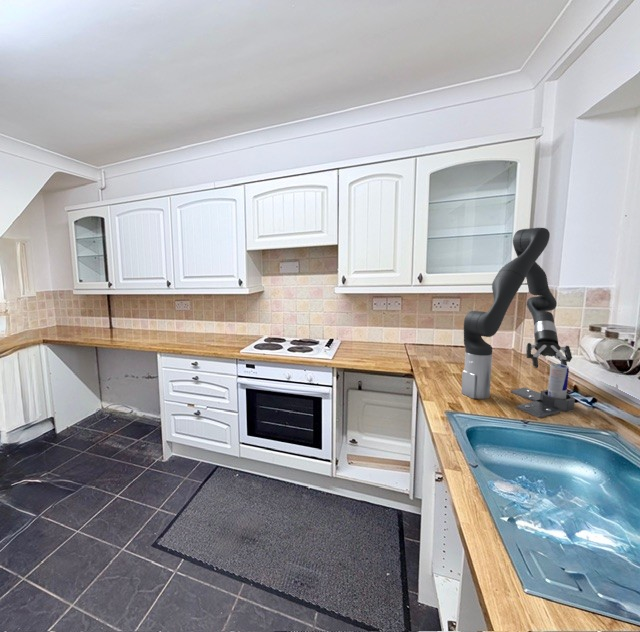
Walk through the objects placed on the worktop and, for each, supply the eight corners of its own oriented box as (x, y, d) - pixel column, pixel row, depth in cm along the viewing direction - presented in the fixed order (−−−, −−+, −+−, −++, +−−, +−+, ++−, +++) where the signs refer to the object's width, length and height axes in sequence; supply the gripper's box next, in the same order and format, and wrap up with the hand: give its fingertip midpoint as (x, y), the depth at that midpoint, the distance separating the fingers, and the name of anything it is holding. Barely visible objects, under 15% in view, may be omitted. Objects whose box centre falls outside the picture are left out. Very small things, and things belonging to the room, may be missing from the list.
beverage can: (568, 407, 104) (572, 366, 102) (558, 409, 102) (562, 368, 100) (553, 401, 109) (557, 362, 107) (543, 403, 107) (546, 363, 105)
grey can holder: (540, 418, 96) (541, 407, 96) (490, 396, 114) (491, 386, 114) (579, 408, 103) (580, 397, 102) (525, 389, 120) (526, 379, 120)
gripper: (526, 327, 123) (529, 361, 115) (569, 330, 117) (576, 366, 108) (523, 337, 129) (526, 370, 120) (564, 340, 122) (570, 375, 114)
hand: (550, 368), depth 114 cm, fingers open, 8 cm apart
